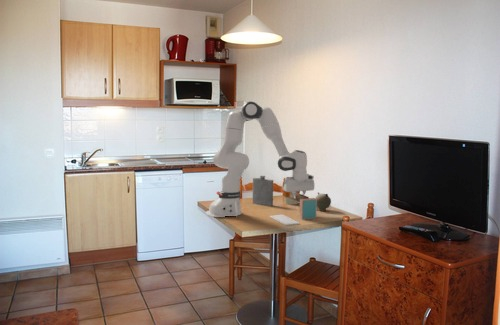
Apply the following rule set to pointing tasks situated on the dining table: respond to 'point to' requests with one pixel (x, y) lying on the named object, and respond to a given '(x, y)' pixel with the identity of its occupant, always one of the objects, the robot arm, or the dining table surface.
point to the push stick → (299, 196)
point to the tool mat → (284, 220)
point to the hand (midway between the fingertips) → (298, 198)
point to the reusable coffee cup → (288, 197)
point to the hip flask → (263, 191)
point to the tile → (308, 208)
